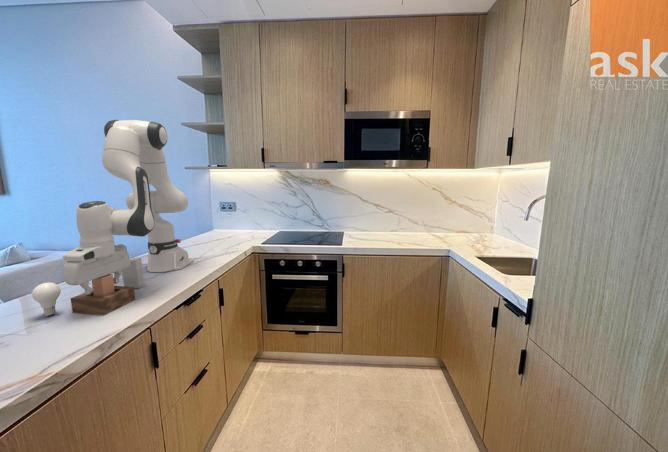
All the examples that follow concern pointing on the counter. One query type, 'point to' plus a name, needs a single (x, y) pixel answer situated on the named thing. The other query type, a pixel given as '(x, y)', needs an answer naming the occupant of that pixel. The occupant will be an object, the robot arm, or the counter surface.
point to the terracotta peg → (103, 286)
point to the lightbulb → (47, 296)
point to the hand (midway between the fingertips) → (103, 288)
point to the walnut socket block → (103, 301)
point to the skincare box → (134, 274)
